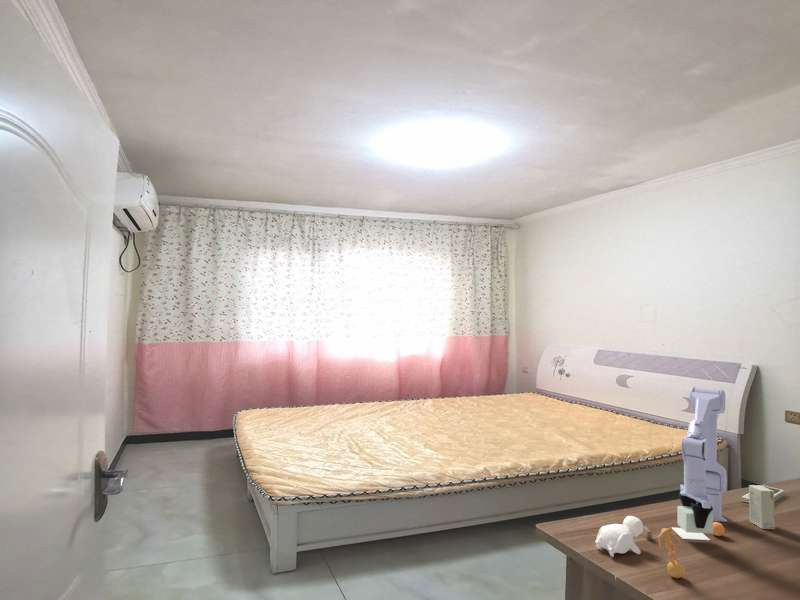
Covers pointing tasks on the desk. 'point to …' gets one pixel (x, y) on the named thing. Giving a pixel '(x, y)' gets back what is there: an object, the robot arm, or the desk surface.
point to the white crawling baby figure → (620, 536)
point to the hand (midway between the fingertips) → (694, 523)
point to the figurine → (671, 553)
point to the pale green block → (692, 521)
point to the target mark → (690, 534)
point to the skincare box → (761, 506)
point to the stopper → (646, 532)
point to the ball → (718, 529)
